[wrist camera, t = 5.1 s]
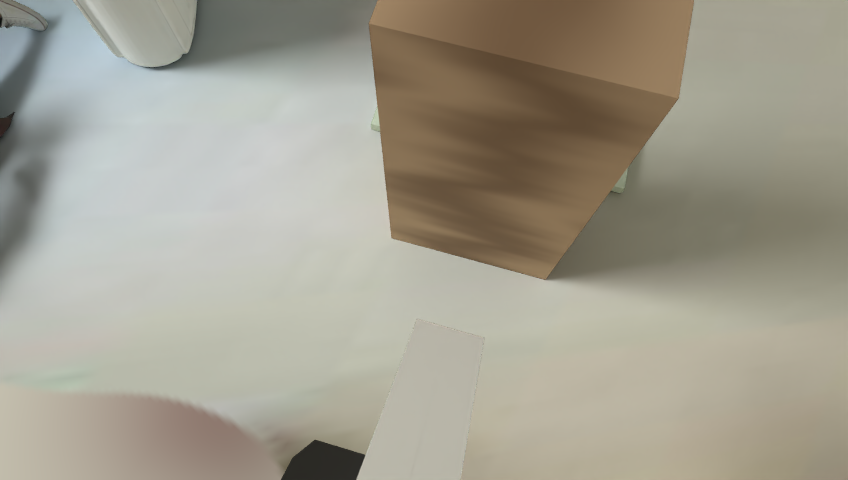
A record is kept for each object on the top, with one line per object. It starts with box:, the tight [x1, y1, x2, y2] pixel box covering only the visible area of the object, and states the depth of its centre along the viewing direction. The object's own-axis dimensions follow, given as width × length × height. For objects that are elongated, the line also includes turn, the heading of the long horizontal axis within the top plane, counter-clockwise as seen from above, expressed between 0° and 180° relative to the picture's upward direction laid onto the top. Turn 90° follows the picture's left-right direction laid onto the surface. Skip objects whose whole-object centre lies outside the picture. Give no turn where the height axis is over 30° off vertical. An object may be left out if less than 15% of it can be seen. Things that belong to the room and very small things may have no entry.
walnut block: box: [369, 0, 694, 280], centre depth 20 cm, size 7×4×14 cm, turn 74°
